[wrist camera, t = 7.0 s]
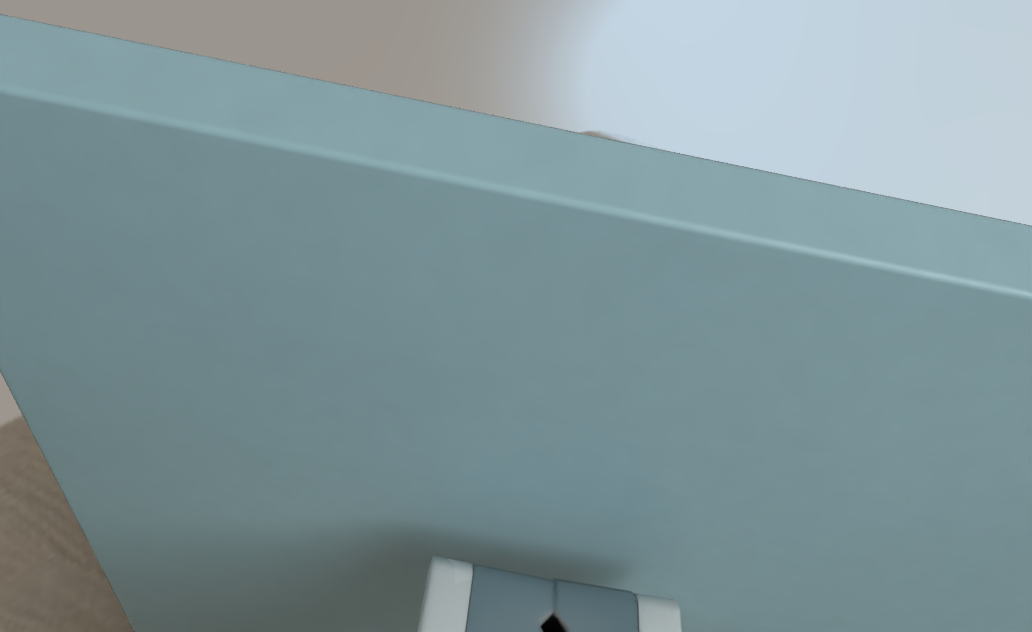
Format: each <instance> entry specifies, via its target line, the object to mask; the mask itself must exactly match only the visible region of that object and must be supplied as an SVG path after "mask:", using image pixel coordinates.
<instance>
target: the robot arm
mask: <svg viewBox="0 0 1032 632" xmlns="http://www.w3.org/2000/svg"><path fill="white" fill-rule="evenodd" d="M415 632H682V630H681V617H680V609H679V607H678V604H677V602H676V601H675V600H673V599H668V598H662V597H656V596H650V595H644V594H637V593H633V592H632V591H628V590H622V589H616V588H610V587H604V586H598V585H592V584H586V583H579V582H573V581H567V580H561V579H555V578H553V580H552V579H547V578H542V577H537V576H532V575H527V574H522V573H517V572H512V571H507V570H503V569H498V568H493V567H488V566H483V565H478V564H474V565H473V563H469V562H463V561H458V560H453V559H447V558H442V557H436V556H432V557H431V560H430V564H429V569H428V574H427V578H426V583H425V588H424V592H423V597H422V601H421V606H420V611H419V616H418V620H417V625H416V630H415Z"/></svg>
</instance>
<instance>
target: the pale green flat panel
mask: <svg viewBox="0 0 1032 632" xmlns="http://www.w3.org/2000/svg"><path fill="white" fill-rule="evenodd" d="M0 372H1V373H2V376H3V378H4V379H5V381H6V383H7V385H8V387H9V389H10V391H11V393H12V395H13V397H14V399H15V400H16V403H17V405H18V407H19V409H20V410H21V413H22V414H23V416H24V418H25V420H26V422H27V424H28V426H29V428H30V430H31V432H32V434H33V436H34V438H35V440H36V442H37V444H38V446H39V447H40V449H41V451H42V453H43V455H44V457H45V459H46V461H47V463H48V465H49V467H50V469H51V471H52V473H53V475H54V477H55V478H56V480H57V482H58V484H59V486H60V488H61V490H62V492H63V494H64V496H65V498H66V500H67V502H68V504H69V506H70V508H71V510H72V511H73V513H74V515H75V517H76V519H77V521H78V523H79V525H80V527H81V529H82V531H83V533H84V535H85V537H86V539H87V541H88V543H89V544H90V546H91V548H92V550H93V552H94V554H95V556H96V558H97V560H98V562H99V564H100V566H101V568H102V570H103V572H104V574H105V576H106V577H107V579H108V581H109V583H110V585H111V587H112V589H113V591H114V593H115V595H116V597H117V599H118V601H119V603H120V605H121V607H122V609H123V610H124V612H125V614H126V616H127V618H128V620H129V622H130V624H131V626H132V628H133V630H134V632H415V630H416V625H417V620H418V616H419V611H420V606H421V601H422V597H423V592H424V588H425V583H426V578H427V574H428V569H429V564H430V560H431V557H432V556H436V557H442V558H447V559H453V560H458V561H463V562H469V563H473V565H474V564H478V565H483V566H488V567H493V568H498V569H503V570H507V571H512V572H517V573H522V574H527V575H532V576H537V577H542V578H547V579H552V580H553V578H555V579H561V580H567V581H573V582H579V583H586V584H592V585H598V586H604V587H610V588H616V589H622V590H628V591H632V592H633V593H637V594H644V595H650V596H656V597H662V598H668V599H673V600H675V601H676V602H677V604H678V607H679V609H680V617H681V630H682V632H1032V226H1030V225H1026V224H1021V223H1015V222H1011V221H1006V220H1001V219H996V218H991V217H987V216H982V215H977V214H971V213H967V212H962V211H957V210H952V209H948V208H943V207H938V206H933V205H928V204H923V203H918V202H913V201H909V200H904V199H899V198H894V197H889V196H884V195H879V194H874V193H869V192H865V191H860V190H855V189H850V188H845V187H840V186H835V185H830V184H825V183H821V182H816V181H811V180H806V179H801V178H796V177H792V176H786V175H782V174H777V173H772V172H767V171H762V170H758V169H753V168H748V167H743V166H738V165H733V164H728V163H723V162H719V161H713V160H709V159H704V158H699V157H694V156H689V155H684V154H680V153H675V152H670V151H665V150H660V149H655V148H650V147H645V146H641V145H636V144H631V143H626V142H621V141H616V140H611V139H607V138H602V137H597V136H592V135H587V134H582V133H577V132H572V131H568V130H562V129H558V128H553V127H548V126H543V125H538V124H533V123H529V122H524V121H519V120H514V119H509V118H504V117H499V116H494V115H489V114H485V113H480V112H475V111H470V110H465V109H460V108H455V107H451V106H445V105H441V104H436V103H431V102H426V101H421V100H416V99H412V98H407V97H402V96H397V95H392V94H387V93H382V92H377V91H373V90H367V89H363V88H358V87H353V86H348V85H343V84H339V83H333V82H329V81H324V80H319V79H313V78H309V77H304V76H300V75H295V74H290V73H285V72H280V71H275V70H270V69H265V68H260V67H255V66H251V65H246V64H241V63H236V62H231V61H226V60H221V59H217V58H212V57H207V56H202V55H197V54H192V53H187V52H183V51H178V50H173V49H168V48H163V47H158V46H153V45H148V44H143V43H139V42H134V41H129V40H124V39H119V38H114V37H109V36H105V35H100V34H95V33H90V32H85V31H80V30H75V29H70V28H65V27H61V26H55V25H51V24H46V23H41V22H36V21H31V20H26V19H21V18H16V17H12V16H7V15H2V14H0Z"/></svg>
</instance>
